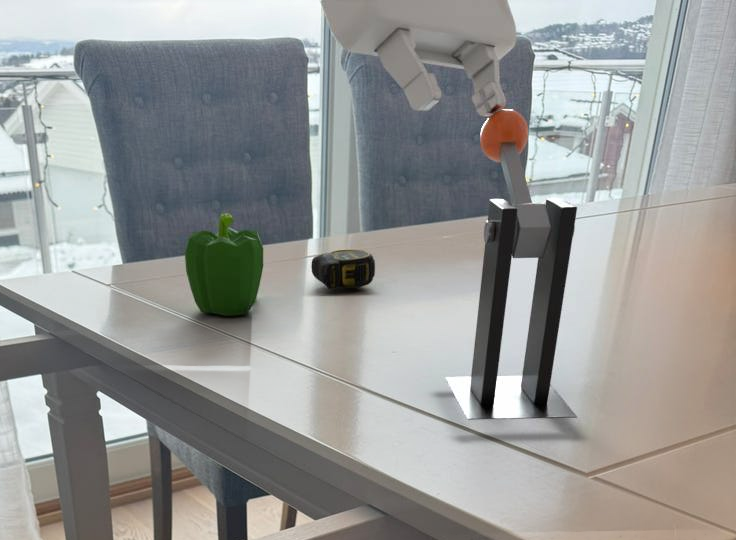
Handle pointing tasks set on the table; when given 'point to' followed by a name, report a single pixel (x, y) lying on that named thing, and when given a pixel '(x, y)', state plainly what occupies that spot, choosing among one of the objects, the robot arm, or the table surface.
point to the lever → (516, 181)
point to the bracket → (532, 389)
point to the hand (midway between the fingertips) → (462, 108)
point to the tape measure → (344, 268)
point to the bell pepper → (224, 269)
